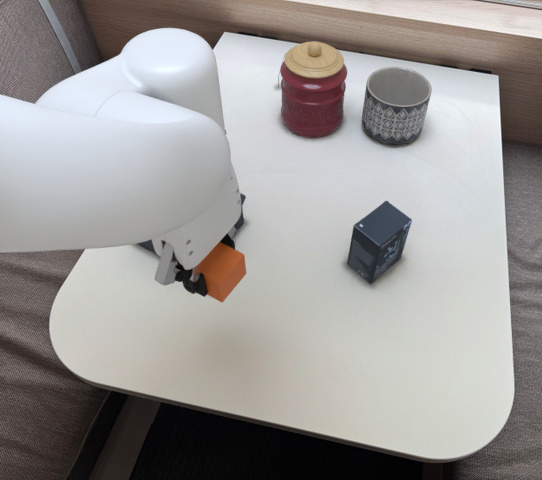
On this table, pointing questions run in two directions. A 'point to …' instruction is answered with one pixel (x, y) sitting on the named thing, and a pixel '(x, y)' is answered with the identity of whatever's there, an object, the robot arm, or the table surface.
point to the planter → (395, 104)
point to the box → (378, 241)
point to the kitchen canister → (313, 89)
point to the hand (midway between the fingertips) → (210, 272)
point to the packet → (222, 270)
